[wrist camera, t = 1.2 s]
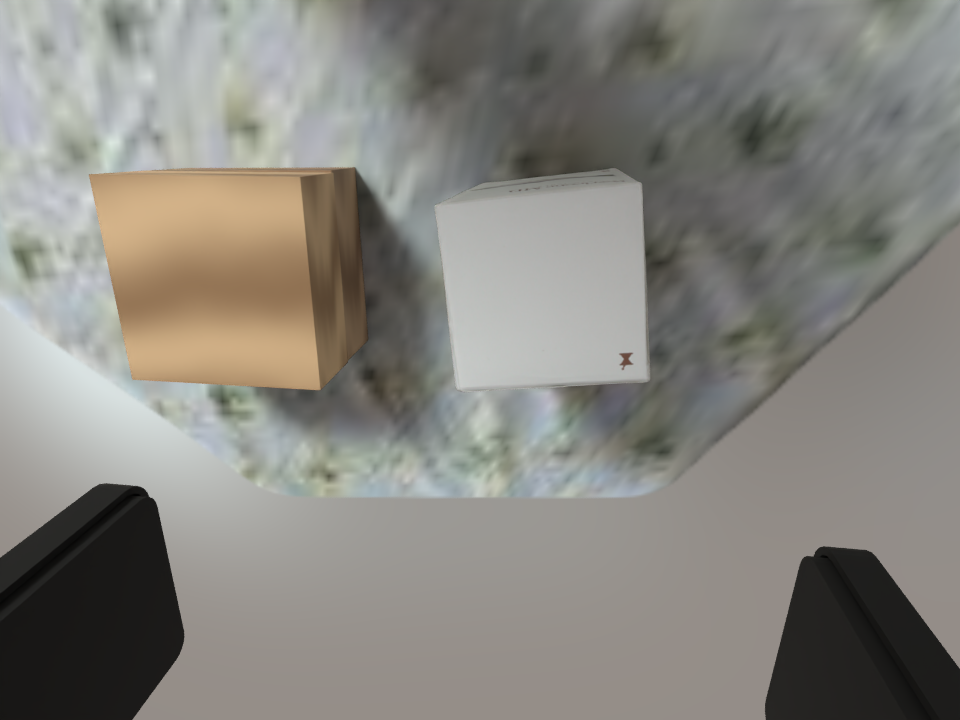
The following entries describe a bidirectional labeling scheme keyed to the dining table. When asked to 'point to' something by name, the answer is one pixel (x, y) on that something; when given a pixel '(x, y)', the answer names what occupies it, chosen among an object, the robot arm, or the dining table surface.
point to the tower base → (347, 247)
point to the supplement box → (546, 282)
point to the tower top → (225, 275)
